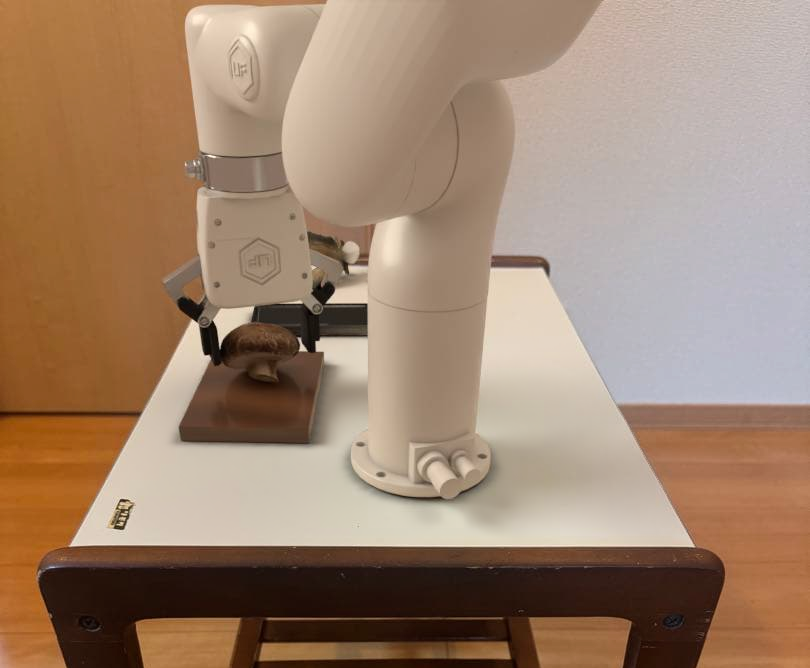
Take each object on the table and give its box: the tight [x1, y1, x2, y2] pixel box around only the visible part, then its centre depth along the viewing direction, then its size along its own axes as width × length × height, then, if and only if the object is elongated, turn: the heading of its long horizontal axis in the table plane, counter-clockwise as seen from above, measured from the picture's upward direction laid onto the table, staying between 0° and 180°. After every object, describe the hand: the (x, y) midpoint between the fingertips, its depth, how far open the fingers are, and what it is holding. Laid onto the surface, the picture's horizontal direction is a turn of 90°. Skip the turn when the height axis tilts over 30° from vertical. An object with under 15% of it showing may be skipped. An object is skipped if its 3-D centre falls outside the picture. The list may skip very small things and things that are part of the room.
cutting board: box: [178, 350, 325, 444], centre depth 80 cm, size 18×12×2 cm, turn 0°
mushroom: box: [219, 322, 301, 382], centre depth 80 cm, size 8×8×6 cm
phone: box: [250, 302, 368, 336], centre depth 97 cm, size 8×1×15 cm
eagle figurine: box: [307, 231, 361, 289], centre depth 110 cm, size 8×7×9 cm
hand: (262, 354), depth 80 cm, fingers open, 9 cm apart
